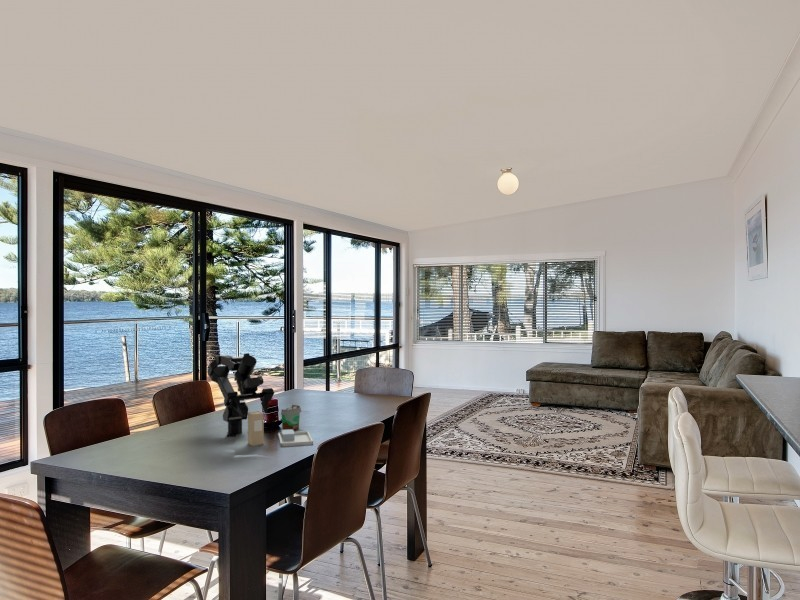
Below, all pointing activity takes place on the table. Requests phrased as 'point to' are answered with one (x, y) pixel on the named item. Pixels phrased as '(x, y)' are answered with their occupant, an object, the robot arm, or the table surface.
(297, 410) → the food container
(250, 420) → the labelled carton
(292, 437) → the white rectangular block
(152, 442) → the table surface
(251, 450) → the table surface
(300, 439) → the tray
